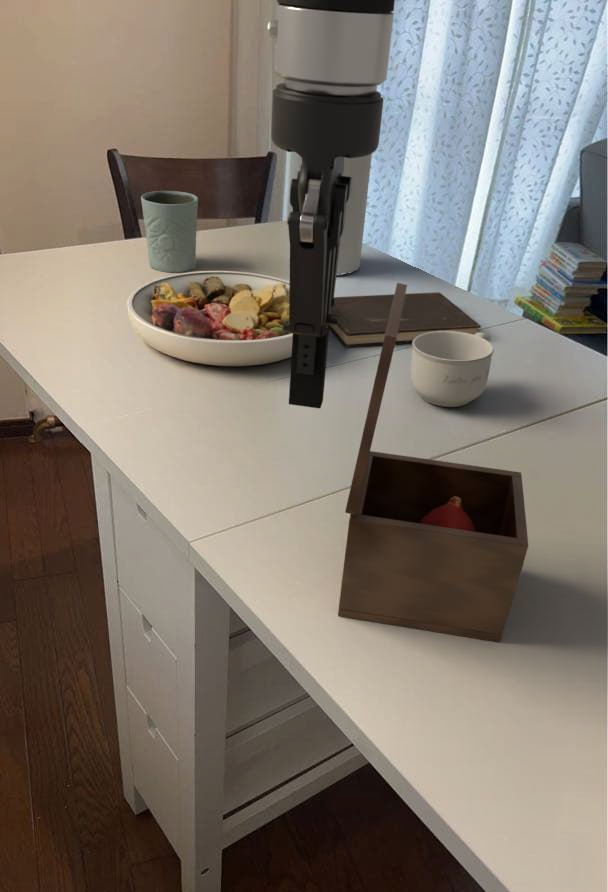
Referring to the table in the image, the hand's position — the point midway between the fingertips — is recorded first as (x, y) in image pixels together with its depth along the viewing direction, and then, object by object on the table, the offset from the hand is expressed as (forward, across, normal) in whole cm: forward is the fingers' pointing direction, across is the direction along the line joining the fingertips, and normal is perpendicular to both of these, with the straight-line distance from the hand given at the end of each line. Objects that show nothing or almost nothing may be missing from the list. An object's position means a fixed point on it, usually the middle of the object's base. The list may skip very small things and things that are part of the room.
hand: (305, 402), depth 68 cm
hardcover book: (+18, -68, +4) cm, 71 cm away
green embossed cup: (+18, -84, -39) cm, 94 cm away
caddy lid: (-1, 0, +6) cm, 6 cm away
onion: (+17, 0, +14) cm, 22 cm away
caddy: (+18, 0, +13) cm, 22 cm away
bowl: (+18, -55, -20) cm, 61 cm away
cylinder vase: (+18, -94, -11) cm, 96 cm away
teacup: (+18, -44, +14) cm, 50 cm away
